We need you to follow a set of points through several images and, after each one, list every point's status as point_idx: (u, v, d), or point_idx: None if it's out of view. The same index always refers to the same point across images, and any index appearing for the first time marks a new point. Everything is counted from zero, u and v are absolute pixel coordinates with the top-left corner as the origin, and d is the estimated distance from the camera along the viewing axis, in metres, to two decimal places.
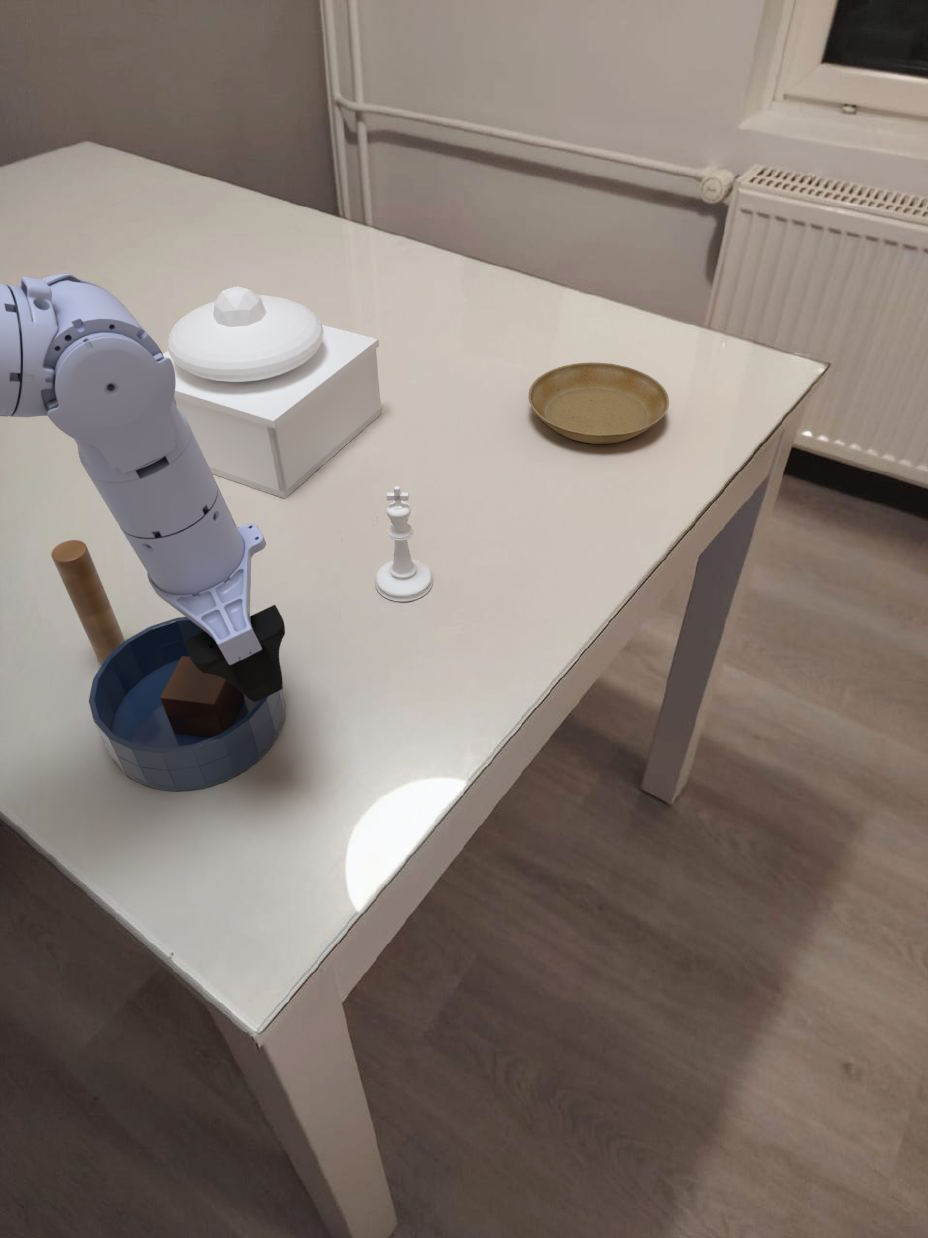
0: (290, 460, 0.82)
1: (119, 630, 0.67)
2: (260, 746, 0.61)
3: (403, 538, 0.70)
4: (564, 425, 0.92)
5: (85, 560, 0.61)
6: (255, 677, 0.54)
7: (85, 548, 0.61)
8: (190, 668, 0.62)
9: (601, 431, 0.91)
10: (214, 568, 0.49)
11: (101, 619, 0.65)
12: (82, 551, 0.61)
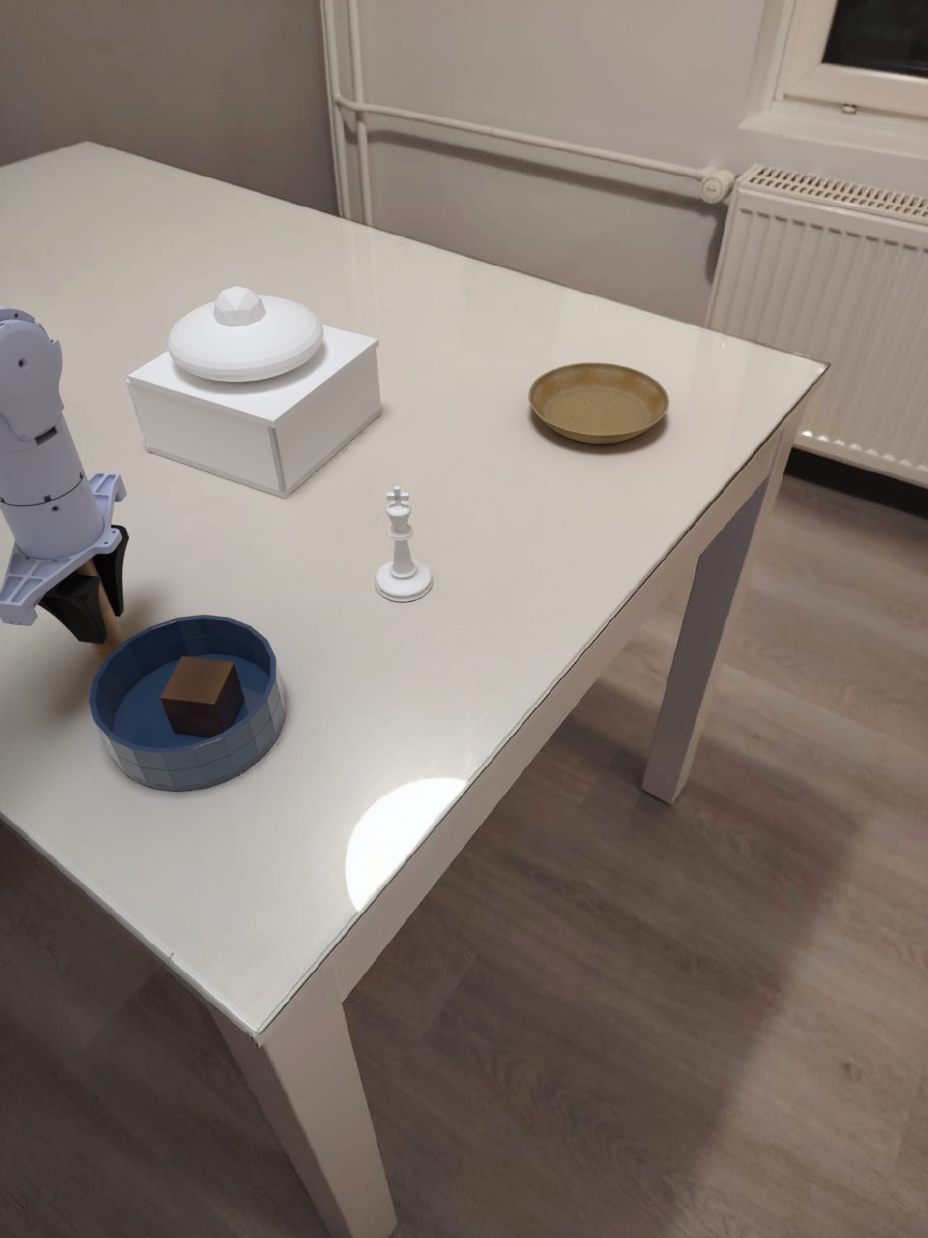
0: (290, 460, 0.82)
1: (119, 630, 0.67)
2: (260, 746, 0.61)
3: (403, 538, 0.70)
4: (564, 425, 0.92)
5: None
6: (77, 622, 0.63)
7: None
8: (190, 668, 0.62)
9: (601, 431, 0.91)
10: (44, 546, 0.57)
11: None
12: None
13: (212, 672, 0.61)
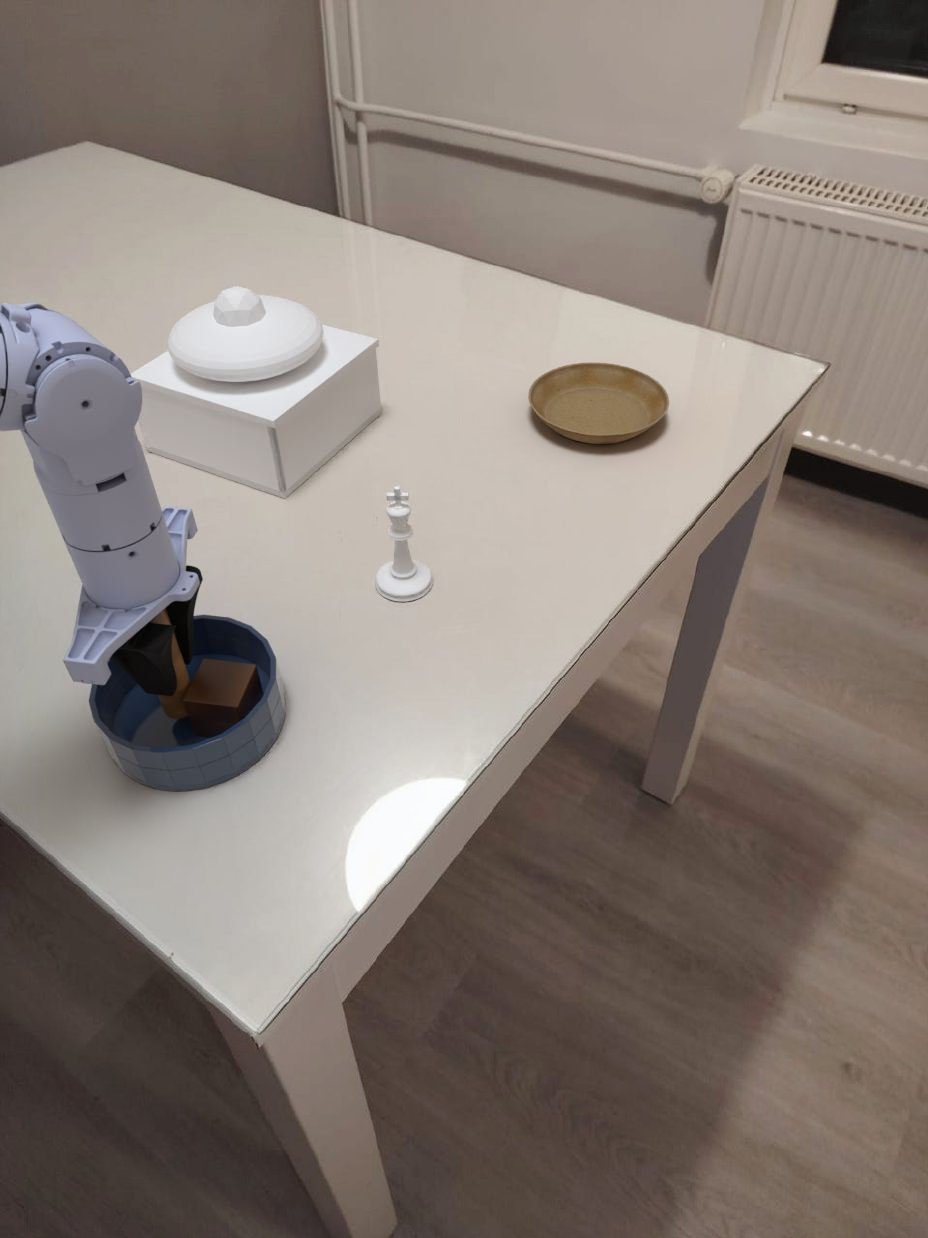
0: (290, 460, 0.82)
1: (188, 679, 0.61)
2: (260, 746, 0.61)
3: (403, 538, 0.70)
4: (564, 425, 0.92)
5: None
6: (146, 673, 0.57)
7: None
8: (212, 671, 0.61)
9: (601, 431, 0.91)
10: (118, 595, 0.51)
11: None
12: None
13: (234, 675, 0.61)
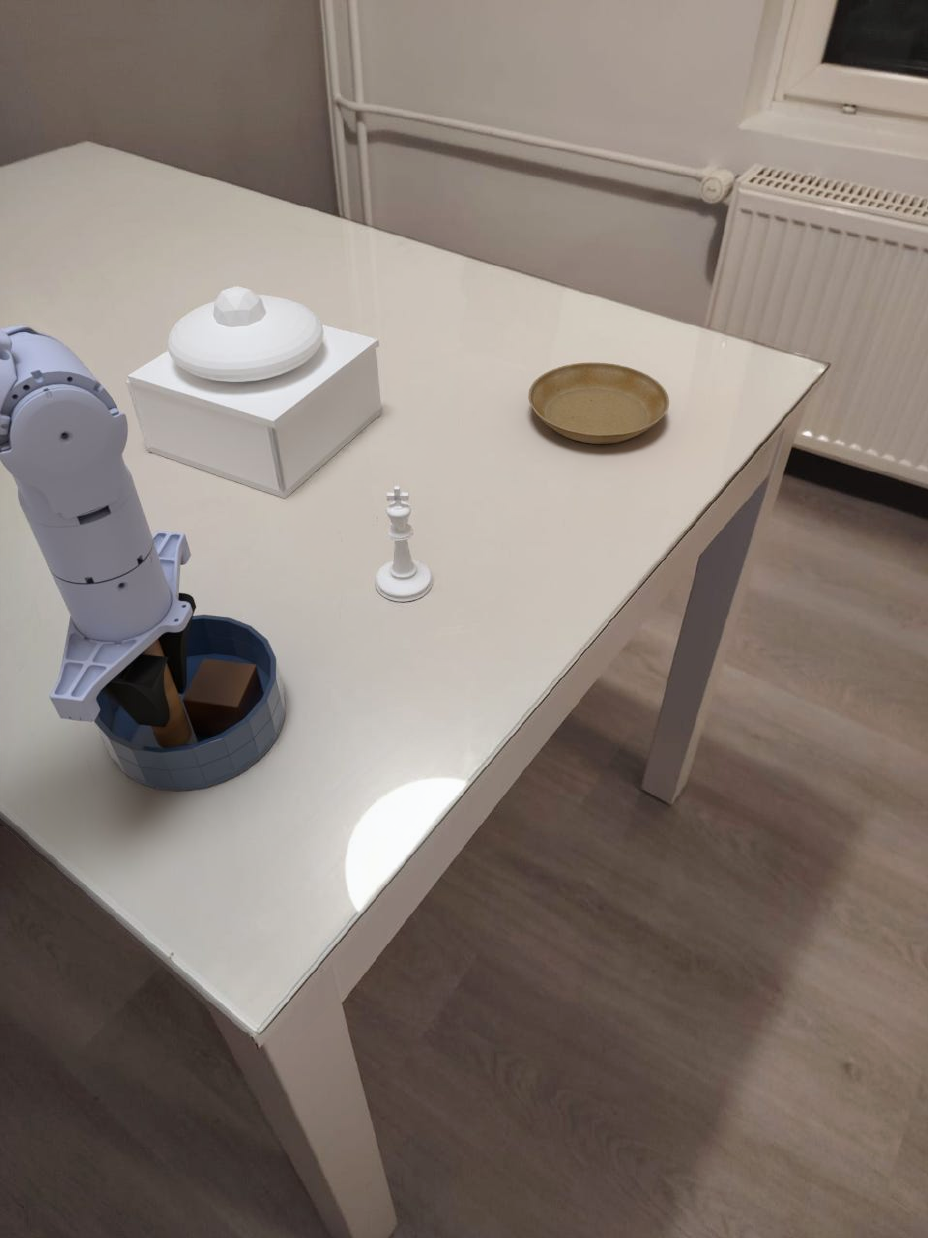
0: (290, 460, 0.82)
1: (182, 709, 0.59)
2: (260, 746, 0.61)
3: (403, 538, 0.70)
4: (564, 425, 0.92)
5: None
6: (138, 705, 0.55)
7: None
8: (212, 671, 0.61)
9: (601, 431, 0.91)
10: (107, 627, 0.49)
11: None
12: None
13: (234, 675, 0.61)
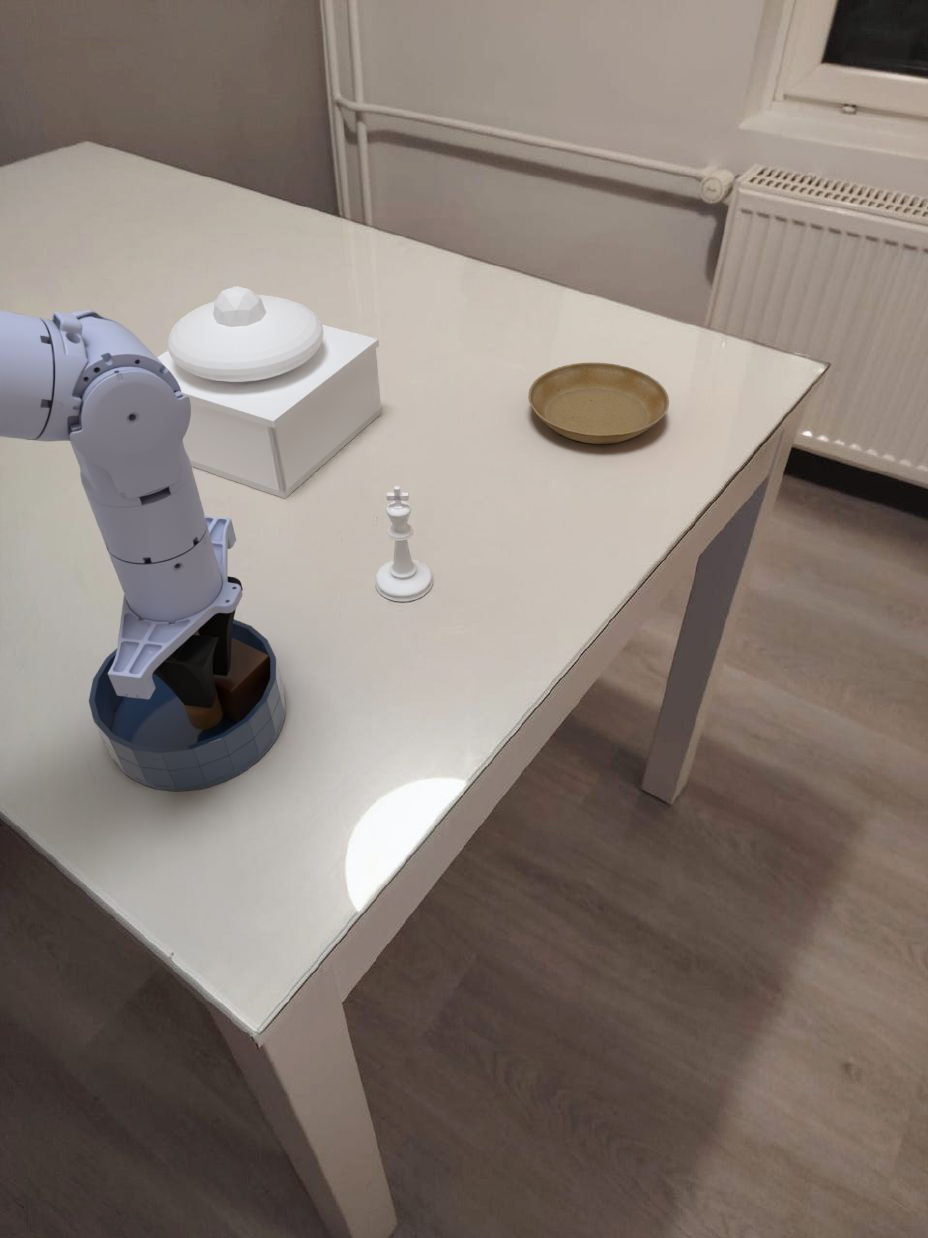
0: (290, 460, 0.82)
1: None
2: (260, 746, 0.61)
3: (403, 538, 0.70)
4: (564, 425, 0.92)
5: None
6: (186, 685, 0.57)
7: None
8: None
9: (601, 431, 0.91)
10: (162, 607, 0.50)
11: None
12: None
13: (244, 659, 0.62)
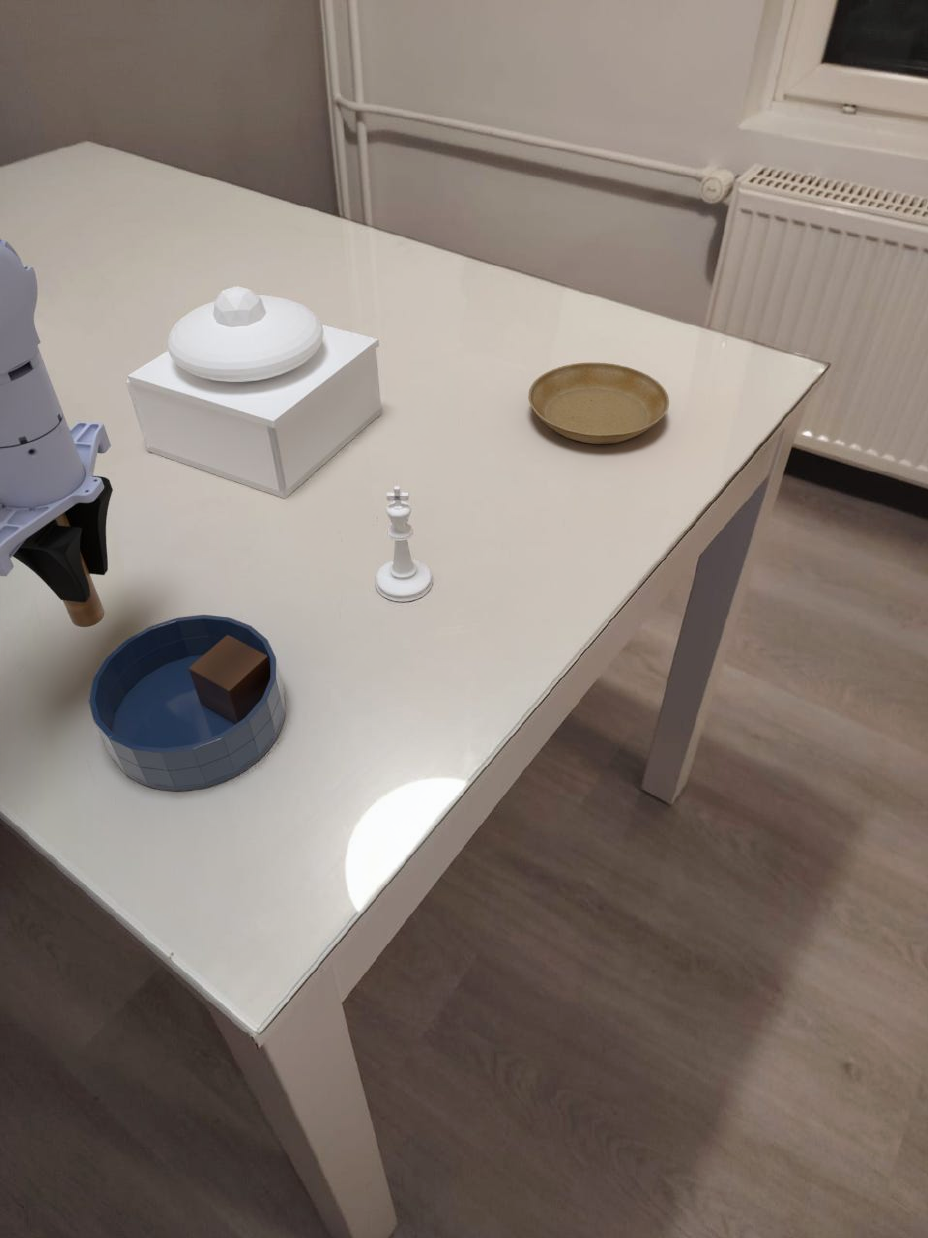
0: (290, 460, 0.82)
1: None
2: (260, 746, 0.61)
3: (403, 538, 0.70)
4: (564, 425, 0.92)
5: None
6: (58, 578, 0.60)
7: None
8: (227, 649, 0.63)
9: (601, 431, 0.91)
10: (21, 493, 0.54)
11: None
12: None
13: (243, 659, 0.62)
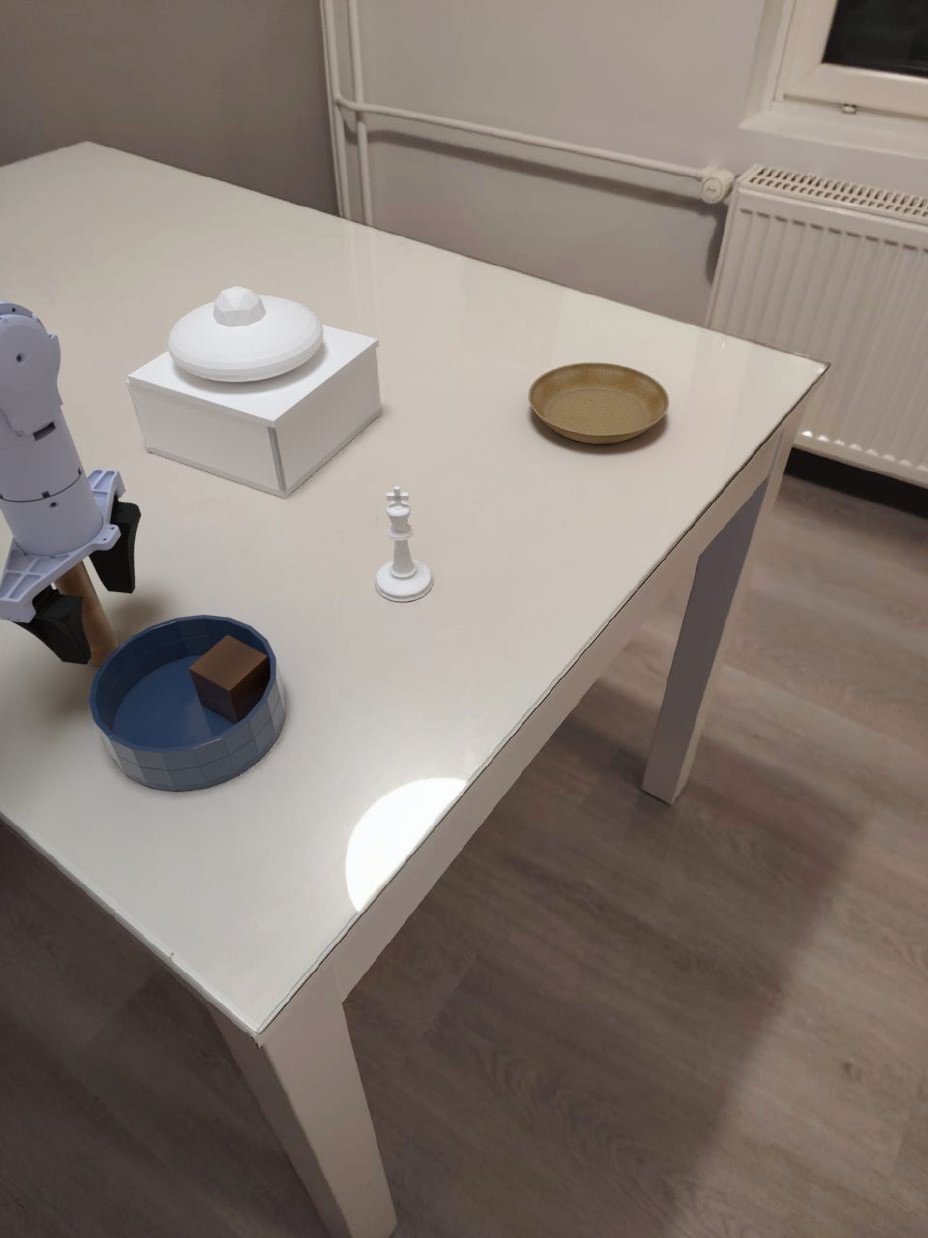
0: (290, 460, 0.82)
1: None
2: (260, 746, 0.61)
3: (403, 538, 0.70)
4: (564, 425, 0.92)
5: None
6: (60, 642, 0.62)
7: None
8: (227, 649, 0.63)
9: (601, 431, 0.91)
10: (42, 542, 0.57)
11: (99, 611, 0.65)
12: None
13: (243, 659, 0.62)
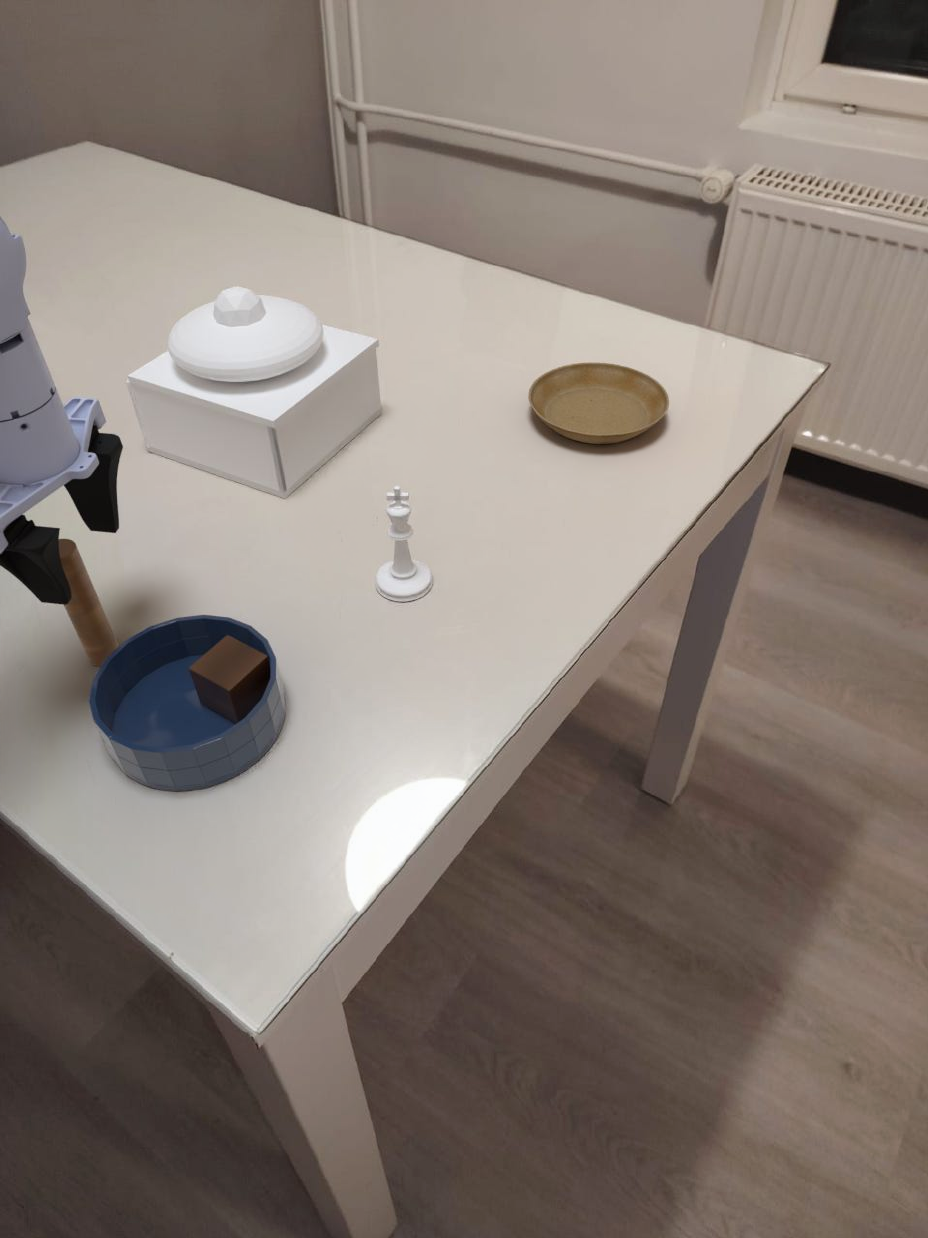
0: (290, 460, 0.82)
1: None
2: (260, 746, 0.61)
3: (403, 538, 0.70)
4: (564, 425, 0.92)
5: (78, 551, 0.62)
6: (37, 580, 0.58)
7: (72, 541, 0.62)
8: (227, 649, 0.63)
9: (601, 431, 0.91)
10: (14, 469, 0.53)
11: (99, 611, 0.65)
12: (72, 544, 0.62)
13: (243, 659, 0.62)
